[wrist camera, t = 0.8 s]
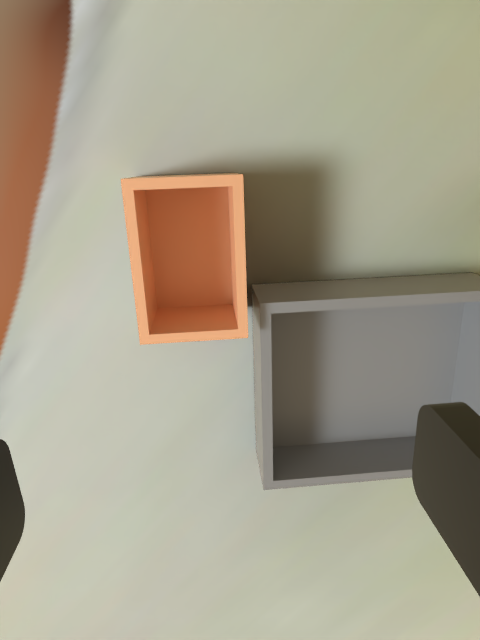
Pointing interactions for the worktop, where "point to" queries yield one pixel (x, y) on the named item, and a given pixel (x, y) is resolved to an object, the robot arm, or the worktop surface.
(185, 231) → the small crate
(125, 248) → the worktop surface
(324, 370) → the large crate
